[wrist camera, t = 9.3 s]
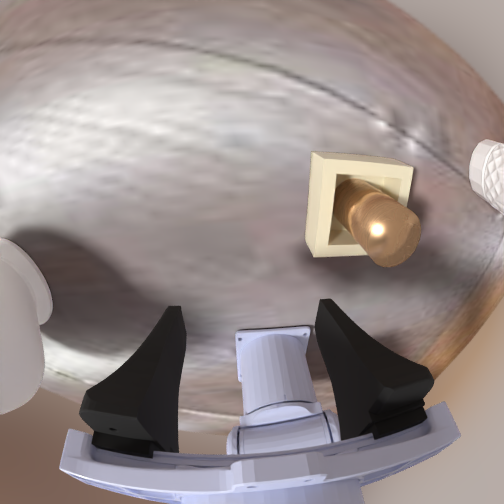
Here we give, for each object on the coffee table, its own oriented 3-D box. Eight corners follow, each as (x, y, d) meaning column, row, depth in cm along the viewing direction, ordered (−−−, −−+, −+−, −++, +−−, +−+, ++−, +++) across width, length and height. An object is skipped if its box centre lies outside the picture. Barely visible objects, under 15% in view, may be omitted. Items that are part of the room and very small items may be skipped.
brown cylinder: (372, 221, 22) (415, 262, 16) (330, 226, 22) (365, 271, 16) (374, 177, 20) (424, 206, 14) (330, 179, 20) (371, 210, 14)
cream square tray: (380, 237, 24) (395, 253, 21) (304, 239, 23) (313, 257, 20) (393, 158, 20) (413, 167, 17) (311, 151, 19) (323, 158, 17)
